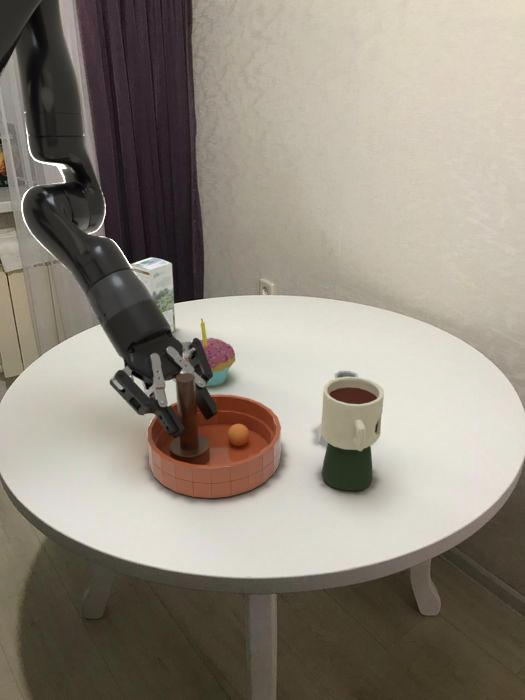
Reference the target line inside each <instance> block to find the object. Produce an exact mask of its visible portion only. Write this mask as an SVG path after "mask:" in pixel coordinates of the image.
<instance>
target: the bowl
mask: <svg viewBox="0 0 525 700" xmlns="http://www.w3.org/2000/svg"><path fill="white" fill-rule="evenodd" d="M210 395H211V397H212V398H213V400H214V402H215V403H216V405H217V409H216V410H217V414H216V415H215V416H214V417H212V418H211V419H209V420H206V419H205V418H204V416H203V414H202V413H201V411H200V409H199V408H198V406H197V422H198V435H201V436H204V437H205V438H207V439H208V441H209V444H210V459H209V461H208V462H207V463H206V464H205V465H195V464H190V463H185V462H181V461H177V460H175V459H173V458H171V457H170V443H171V442H172V441H173V440H174V439H175V438H174V437H173V436H172V435H171V436H170V435H169V434H167V433H166V431H165V429H164V428H163V426H162V424H161V423H160V421H159V419H158V418H157V416H156V415H154V417H153V418H152V419H151V421H150V423H149V424H148V426H147V428H146V443H147V444H146V445H147V453H148V464H149V468H150V470H151V472H152V474H153V477H154V478H155V479H156V480H157V481H158V482H159V483H160V484H161V485H162V486H164V487H165V488H167V489H170V490H171V491H173V492H175V493H177V494H181V495H185V496H189V497H193V498H207V499H216V498H217V499H218V498H225V497H227V498H228V497H232V496H237V495H239V494H243V493H248V492H250V491H252V490H254V489H255V488H258V487H259V486H261V485H263V484H264V483H265V482H267V481H268V480H269V479H270V478H271V477H272V476H273V475H274V474H275V472H276V471H277V469H278V468H279V466H280V463H281V462H280V461H281V453H282V443H281V442H282V425H281V422H280V419H279V417H278V416H277V414H276V413H275V412H274V411H273V409H271V408H270V407H268V406H267V405H265V404H264V403H262V402H260V401H258V400H254V399H252V398H249V397H245V396H240V395H234V394H222V393H221V394H220V393H218V394H217V393H216V394H210ZM170 405H171V407H172V408H173V410H174V412H175V413H176V415H177V417H178V407H177V401H176V402H173V403H171V404H170ZM235 424H242V425H244V426H246V427H247V429H248V430H249V439H248V441H247V443H245V444H244V445H242V446H235V445H233V444H231V443H230V442H229V440H228V436H227V433H228V430H229V428H230V427H231V426H233V425H235Z"/></svg>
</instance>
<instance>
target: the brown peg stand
mask: <svg viewBox="0 0 525 700" xmlns="http://www.w3.org/2000/svg"><path fill="white" fill-rule="evenodd" d="M175 380H176V382H175V391H176V394H175V395H176V402H177V407H178V418H179V420H180V421H181V423H182V425H183V426H184V428H185V432H184V433H183V434H182V435H180V436H179V437H177V438H175V439H174V440H173V441H172V442H171V443H170V457H171V458H173V459H175V460H177V461H181V462H185V463H190V464H195V465H205V464H206V463H207V462H208V461H209V459H210V444H209V441H208V439H207V438H205V437H204V436H201V435H198V422H197V404H196V387H195V376H194V375H193V374H190V373H183V372H182V373H181V374H179V375H177V376H176V378H175Z"/></svg>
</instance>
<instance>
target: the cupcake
mask: <svg viewBox="0 0 525 700" xmlns="http://www.w3.org/2000/svg"><path fill="white" fill-rule="evenodd" d="M200 321H201V322H200V331H201V338H202V339H199V340H200V341H201V344H202V346H203V349H204V352H205V354H206V357H207V360H208V362H209V365H210V368H211V370H212V373H213V377H212V378H211V379H210V380H209V381H208V382H207V384H206V387H217V386H219V385H222V384H223V383H224V382H225V381H226V378H227V375H228V372H229V370H230V368H231V367H232V366H233V365H234V363H236V353H235V349H234V348H233V346H232V345H231V344H230V343H227V342H225V341H224V340H222V339H219V338H214V337H209V338H208V337H207V331H206V330H207V329H206V323H205V321H204V319H203V317H202V318H200ZM183 358H184V359H185V360H186V361H187V362H188V363H189V364H190V362H189V359H188V358H185V354H184V353H183Z"/></svg>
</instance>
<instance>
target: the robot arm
mask: <svg viewBox="0 0 525 700" xmlns="http://www.w3.org/2000/svg"><path fill="white" fill-rule="evenodd" d="M62 23H63V22H62V16H61V6H60V0H0V78H1V77H2V75H3V73H4V71H5V69H6V67H7V65H8V62H10V59H11V57H12V55H13V53H14V51H15V56H16V63H17V70H18V76H19V83H20V92H21V99H22V100H21V101H22V109H23V115H24V124H25V131H26V135H27V136H26V139H27V145H28V146H27V147H28V151H29V154H30V156H31V157H32V159H33V160H34V161H35V162H38V163H41V164H46V165H51V166H56V167H57V169H58V170H59V172H60V174H61V176H62V178H63V182H57V183H56V182H55V183H44V184H38V185H35V186H32V187H30V188H29V189H27V191H26V192H25V193H24V194H23V197H22V200H21V213H22V218H23V222H24V224H25V225H26V227H27V229H28V231H29V232H30V234H31V235H32V236H33V237H34V239H35V240H36V241H37V242H38V243H39V244H40V245H41V246H42V247H43V248H44V249H46V251H47V252H48V253H50V254H51V255H52V256H53V257H54V258H55V260H57V261H58V262H59V263H60V264H61V265H62V266H63V267H65V269H66V270H67V271H69V272H70V274H71V275H72V277H73V279H74V280H75V282H76V283H77V285H78V286H79V288H80V290H81V291H82V293H83V295H84V297H85V298H86V300H87V302H88V305H89V307H90V309H91V311H92V314H93V315H94V317H95V319H96V320H97V323H98V324H99V325H100V327H101V329H102V330H103V333H105V335H106V337H107V339H108V340H109V342H110V343H111V345H112V346H113V349H115V351H116V354H117V355H118V356H119V357H120V358H122V361H123V365H124V368H122V369H118V370H117V371H116V372H115V373H114V374H113V376H112V377H111V378H110V379H109V385H110V386H111V387H112V388H113V389H114V391H116V392H117V394H119V396H120V397H121V398H122V399H123V400H124V401H125V402H126V403H127V404H128V406H130V407H131V408H132V410H133V411H134V412H135V413H136V414H137V415H139V416H140V417H141V416H144V415H149V414H153V415H154V416H157V418H158V419H159V421H160V423H161V424H162V426H163V428H164V429H165V431H166V433H167V434H169V435H170V436H171V435H172V436H173V437H174V438H177V437H179V436H180V435H182V434H183V433H184V432H185V428H184V426H183V425H182V423H181V421H180V420H179V418H178V417H177V415H176V413H175V412H174V410H173V408H172V407H171V404H169V402H168V398H167V395H166V391H165V389H166V382H169V381H173V382H174V383H176V380H175V378H176V376H177V375H179V374H182V373H190V374H193V375H194V376H195V387H196V404H197V406H198V408H199V409H200V411H201V413H202V414H203V416H204V418H205V419H206V420H209V419H211V418H212V417H214V416H215V415H216V414H217V410H216V409H217V405H216V403H215V402H214V400H213V398H212V397H211V395H212V394H211V393H210V392H209V390H208V389H207V386H206V384H207V382H208V381H209V380H210V379H211V378H212V377H213V373H212V370H211V368H210V365H209V362H208V360H207V357H206V354H205V352H204V349H203V346H202V344H201V341H200V340H201V339H200V338H198V337H194V338H192V340H191V341H183V342H181V341H180V340H179V339H178V338H176V337H175V335H173V332H171V328H170V325H169V323H168V322H167V320H166V318H165V317H164V315H163V314H162V312H161V310H160V309H159V307H158V305H157V304H156V302H155V301H154V299H153V297H152V296H151V294H150V293H149V291H148V289H147V288H146V286H145V285H144V283H143V282H142V281H141V280H140V278H139V277H138V276H137V275H136V274H135V272H134V271H133V269H132V267H131V266H130V264H131V263H129V261H128V259H127V257H126V255H124V252H123V251H122V250H121V248H120V247H119V245H118V244H117V242H115V241H114V240H113V239H111V238H110V237H106V236H99V235H92V234H94V233H95V232H98V230H99V229H100V228H101V227H102V225H103V223H104V220H105V216H106V200H105V197H104V193H103V191H102V190H103V189H102V187H101V185H100V182H99V179H98V176H97V173H96V171H95V167H94V165H93V162H92V158H91V156H90V154H89V151H88V147H87V141H86V139H87V138H86V136H85V135H86V129H85V119H84V109H83V101H82V94H81V89H80V84H79V81H78V76H77V72H76V70H75V67H74V64H73V60H72V58H71V54H70V51H69V48H68V44H67V41H66V38H65V32H64V28H63V24H62ZM184 354H185V358H188V359H189V362H190V364H189V363H188V362H187V361H186V360H185V359H184ZM181 372H182V373H181ZM135 378H136V379H138V380H139V381H141V382H142V386H143V389H142V388H141V387H140V386H139V385H138V384H137V383H136V382H135ZM168 404H169V405H168Z"/></svg>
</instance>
